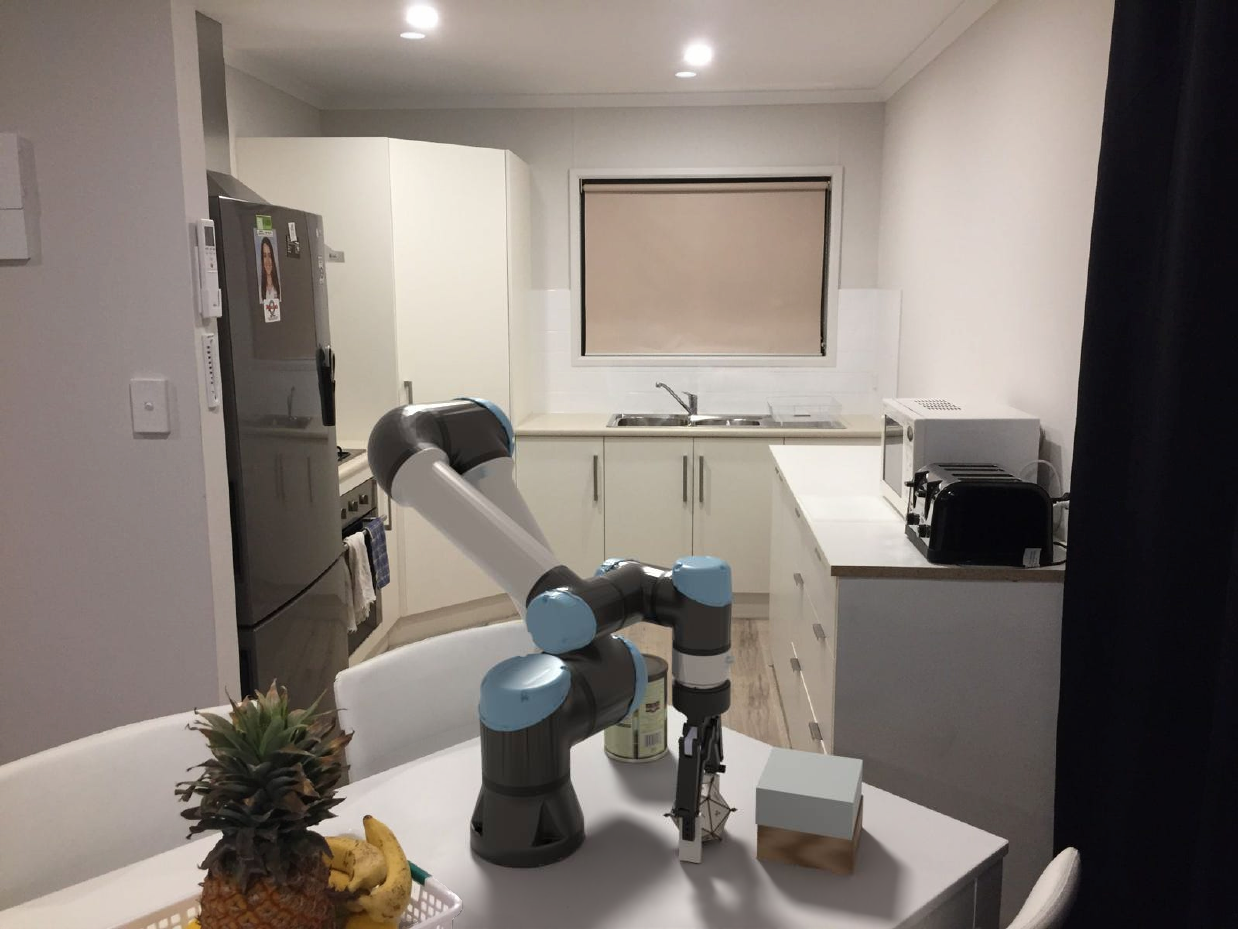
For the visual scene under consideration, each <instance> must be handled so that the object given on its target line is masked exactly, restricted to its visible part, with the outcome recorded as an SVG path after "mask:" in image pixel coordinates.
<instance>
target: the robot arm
mask: <svg viewBox="0 0 1238 929" xmlns="http://www.w3.org/2000/svg"><path fill="white" fill-rule="evenodd" d="M514 438H515V432H514V428H513V425H512V423H511V421H510V420H509V417H508V416H507V414H506V413H505V412H504V411H503V410H502V409H501V408H500V407H499V406H498V405H497V404H495V403H494V402H492V401H490V400H487V399H484V398H479V397H457V398H456V397H455V398H452V399H450V400H442V401H434V402H423V403H411V404H403V405H401V406H397V407H394V408H393V409H391V410H389V411H388V412H386V413H384V415H383V416H381V417H380V418H379V420H377V422H376V423H375V425H374V426H373V428H372V430H371V431H370V434H369V437H368V441H367V448H366V449H367V451H366V452H367V461H368V466H369V469H370V472H371V475H372V476H373V478H374V480H375V481H376V483H377V485H378V487H379V488H380V489H381V490H382V491H383V492H384V493H385V495H387V496H388V498H390V499H391V500H392V501H394V502H395V504H396V505H398V506H400V507H402V508H407V509H408V508H412V509H413V510H415V512H416V513H418V514H419V515H420V516H421V517H422V518H423V519H424V520H426V521H427V522H428V523H429V524H430V525H431V526H433V528H434V529H436V531H438V532H439V533H440V534H441V535H442V536H443V537H445V538H446V539H447V540H448V541H449V542H450V543H451V544H452V545H453V546H454V547H456V548H457V549H458V551H460V552H461V553H462V554H463V555H464V556H465V557H467V559H469V560H470V561H471V562H472V563H473V564H474V565H475V566H476V567H478V569H480V570H481V571H482V572H483V573H484V574H486V576H488V578H490V579H491V580H492V581H493V582H494V583H495V584H496V585H497V586H499V588H501V590H502V591H504V592H505V593H506V594H508V596H509V597H510V599H511V601H512V603H513V605H514V607H515V609H516V611H517V613H518V615H520V618H521V620H522V622H523V624H524V625H525V627H526V630H527V632H528V633H529V635H530V636H531V638H532V640H531V641H532V642H533V643H534V650H533V653H529V654H528V653H527V654H526V655H525V656H521V655H516V656H513V657H509V658H507V659H505V660H503V661H500V662H499V663H497V664H495V665H494V666H492V667H491V668H490V669H489V670H487V672H486V673H485V675H484V676H483V678H482V680H481V682H480V687H479V702H478V708H477V709H478V710H477V712H478V718H479V733H480V755H481V756H480V757H481V759H480V760H481V761H480V762H481V787H480V789H479V792H478V796H477V798H476V802H475V806H474V808H473V812H472V815H471V819H470V823H469V839H470V845H471V848H472V849H473V850H474V852H475V853H476V854H477V855H478V856H480V857H481V858H483V859H484V860H487V861H489V862H490V863H494V864H496V865H501V866H505V867H512V868H513V867H514V868H515V867H516V868H518V867H519V868H527V867H529V868H530V867H538V866H543V865H544V866H545V865H549V864H552V863H555V862H557V861H561V860H562V859H564V858H567V857H569V856H570V855H572V854H573V853H574V852H575V851H576V850H578V848H580V847H581V845H582V843H583V842H584V838H585V831H586V830H585V816H584V813H583V809H582V806H581V804H580V801H579V798H578V795H577V793H576V791H575V788H574V784H573V782H572V779H571V775H572V773H571V749H572V747H574V746H576V745H577V744H580V743H582V742H584V741H585V740H588V739H589V738H591V737H593V736H595V735H597V734H599V733H601V732H602V731H603V732H604V730H605V729H606V728H608V727H610V726H614V725H617V724H618V723H620V722H621V721H623V720H624V719H625V718H626V717H627V716H629V715H631V714H632V713H634V712H635V711H636V710H637V709H638V708H639V706H640V705H641V704H642V702H643V700H644V697H645V695H646V686H647V684H648V676H647V668H646V664H645V661H644V658H643V656H642V654H641V653H642V652H641V651H640V649H639V648H638V647H637V645H636V644H635V642H633V641H632V640H631V639H629V638H625V637H624V635H620V634H613V633H616V632H618V631H621V630H624V629H626V628H628V627H631V626H634V625H635V624H638V623H649V624H652V625H656V626H661V627H664V628H671V636H672V637H671V640H672V642H671V644H672V645H671V647H672V648H671V675H672V677H673V678H672V681H671V703H672V707H673V708H674V710H676V711H677V712H678V713H681V714H683V715H684V716H685V717H686V722H683V723H682V724H683V726H682V730H681V735H682V736H679V738H678V743H677V744H678V763H677V777H676V792H675V800H676V802H675V801H674V802H675V809H672V808H671V809H672V812H673V814H674V815H675V817H679V829H678V832H679V833H678V860H680V861H684V862H691V863H697V864H701V863H702V862H701V861H702V841H701V830H702V813H701V812H700V811H699V809H700V801H701V792H702V784H703V783H707V782H710V781H711V780H710V779H711V778H712V777H713V776H714V779H715V780H714V782H713V784H714V786H715V787H716V789H717V790H718V792H719V793H720V791H721V790H720V789H721V788H720V787H721V786H720V785H721V783H720V780H721V778H720V777H721V776H720V774H726V771H727V770H726V769H727V765H726V764H721V763H723V761H724V759H725V758H724V757H725V756H724V745H723V744H724V743H723V727H722V724H723V723H722V715H723V714H724V713H726V712H727V711H728V710H729V709H730V707H731V696H732V695H731V693H732V685H731V683H732V682H731V680H730V677H731V671H732V670H731V665H733V664H736V660H737V659H736V657H735V656H734V655H731V652H732V615H733V614H732V612H733V611H732V610H733V600H734V592H733V582H732V580H733V579H732V569H731V566H730V564H729V563H728V562H727V561H725V560H724V559H723V558H720V557H716V556H710V555H707V556H703V555H689V556H684V557H680V558H678V559H676V561H675V560H674V561H675V562H674V563H673V564H672V568H670V567H665V566H661V565H656V564H651V563H647V562H646V563H645V562H641V561H639V560H637V559H632V558H617V557H615V558H613V557H612V558H609V559H606V560H604V561H603V562H602V564H601V566H600V567H598V568H597V569H596V571H595V572H594V574H593V576H591V577H587V578H585V579H583V578H581V577H580V576H579V575H578V574H576V573H575V572H574V571H573V570H572V569H570V568H569V567H568V566H567V565H566V564H564V562H562V561H561V560H560V559H558V558H557V556H556V554H555V552H554V551H553V549H552V547H551V545H550V544H549V542H548V540H547V539H546V536H545V535H544V533H543V531H542V529H541V527H540V526H539V524H538V522H537V520H536V519H535V517H534V514H532V512H531V510H530V507H529V506H528V504H527V502H526V501H525V499H524V497H523V495H522V494H521V492H520V490H519V488H518V485H516V483H515V480H514V479H513V478H512V474H513V471H514V468H515V466H516V464H515V461H514V458H513V455H514V452H515V447H516V445H515V444H516V443H515V442H514V441H513V439H514ZM717 773H719V774H717ZM720 794H721V793H720Z"/></svg>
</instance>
